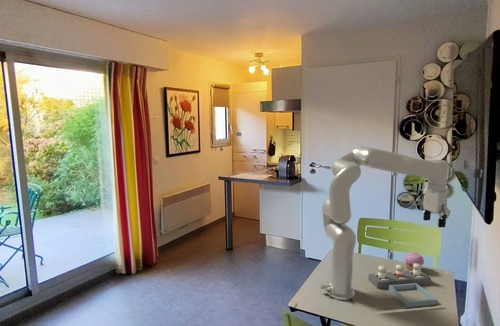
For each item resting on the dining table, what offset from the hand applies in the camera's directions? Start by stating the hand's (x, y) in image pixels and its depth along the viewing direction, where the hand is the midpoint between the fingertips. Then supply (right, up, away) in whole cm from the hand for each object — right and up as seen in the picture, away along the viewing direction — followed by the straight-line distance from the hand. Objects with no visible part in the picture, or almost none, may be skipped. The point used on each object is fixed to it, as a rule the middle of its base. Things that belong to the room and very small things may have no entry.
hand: (433, 223), depth 148 cm
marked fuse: (-14, -29, +5) cm, 32 cm away
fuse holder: (-14, -30, +6) cm, 33 cm away
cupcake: (0, -28, +18) cm, 34 cm away
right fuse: (-5, -29, +7) cm, 30 cm away
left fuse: (-23, -29, +4) cm, 37 cm away
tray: (-14, -32, -7) cm, 35 cm away
